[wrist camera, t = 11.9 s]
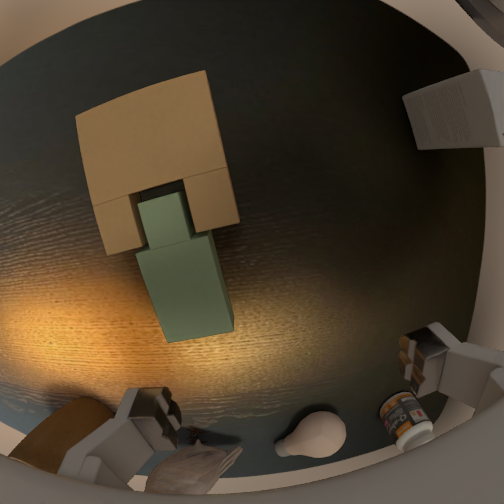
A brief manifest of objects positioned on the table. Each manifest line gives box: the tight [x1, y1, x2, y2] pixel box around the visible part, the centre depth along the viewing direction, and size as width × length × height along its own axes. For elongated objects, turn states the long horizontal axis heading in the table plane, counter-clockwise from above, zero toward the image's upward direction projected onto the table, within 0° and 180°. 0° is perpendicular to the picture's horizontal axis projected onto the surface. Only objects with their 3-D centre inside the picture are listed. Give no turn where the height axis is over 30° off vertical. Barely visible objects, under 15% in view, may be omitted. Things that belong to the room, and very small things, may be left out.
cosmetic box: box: [402, 69, 504, 150], centre depth 18 cm, size 6×4×12 cm
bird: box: [144, 425, 243, 495], centre depth 26 cm, size 5×14×15 cm, turn 81°
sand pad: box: [76, 70, 240, 255], centre depth 23 cm, size 13×12×3 cm
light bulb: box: [275, 411, 346, 458], centre depth 31 cm, size 7×7×11 cm
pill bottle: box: [380, 392, 436, 452], centre depth 29 cm, size 6×6×10 cm
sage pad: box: [136, 190, 234, 343], centre depth 25 cm, size 13×6×3 cm, turn 12°
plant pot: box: [7, 397, 115, 474], centre depth 24 cm, size 15×15×16 cm
